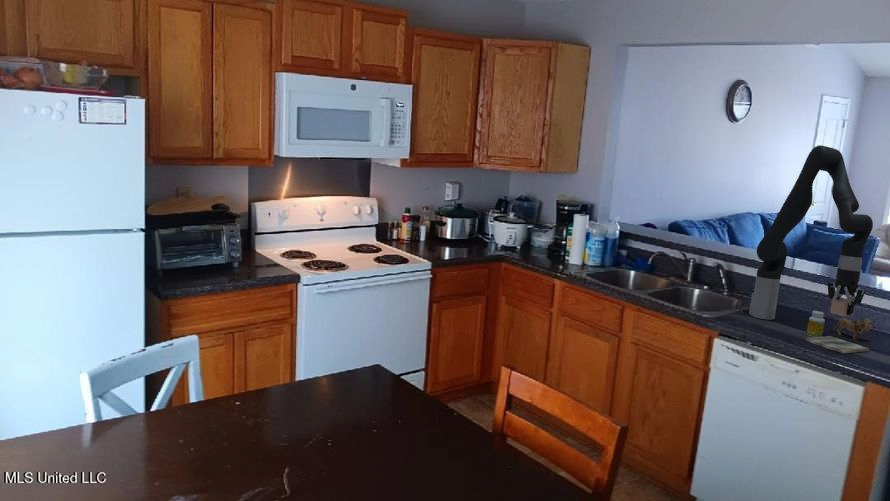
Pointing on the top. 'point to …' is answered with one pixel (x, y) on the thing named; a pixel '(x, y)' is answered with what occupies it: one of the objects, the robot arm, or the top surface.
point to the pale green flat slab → (837, 344)
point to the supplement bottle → (816, 324)
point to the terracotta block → (840, 307)
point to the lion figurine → (854, 326)
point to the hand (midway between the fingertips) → (842, 312)
